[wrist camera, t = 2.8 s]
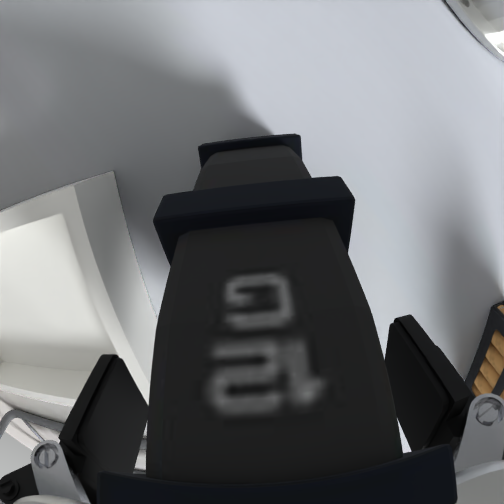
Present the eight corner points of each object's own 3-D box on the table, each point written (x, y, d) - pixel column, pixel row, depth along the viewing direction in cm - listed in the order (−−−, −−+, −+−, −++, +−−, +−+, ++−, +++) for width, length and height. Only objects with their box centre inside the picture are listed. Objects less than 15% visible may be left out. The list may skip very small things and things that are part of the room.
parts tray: (-51, 235, 15) (-79, 252, 11) (113, 170, 14) (73, 185, 10) (7, 362, 20) (-11, 386, 17) (178, 372, 19) (167, 416, 16)
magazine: (285, 67, 11) (458, 578, 1) (291, 265, 20) (321, 495, 10) (197, 77, 11) (104, 601, 1) (237, 271, 21) (246, 502, 11)
